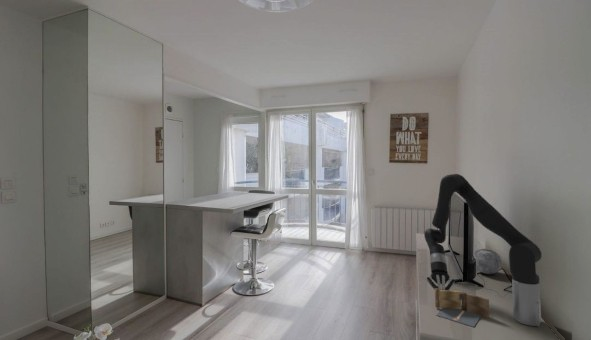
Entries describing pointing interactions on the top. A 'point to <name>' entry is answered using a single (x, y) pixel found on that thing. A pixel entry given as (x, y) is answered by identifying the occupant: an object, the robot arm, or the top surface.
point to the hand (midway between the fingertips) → (442, 298)
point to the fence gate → (448, 299)
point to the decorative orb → (487, 261)
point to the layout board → (460, 316)
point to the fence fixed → (475, 304)
